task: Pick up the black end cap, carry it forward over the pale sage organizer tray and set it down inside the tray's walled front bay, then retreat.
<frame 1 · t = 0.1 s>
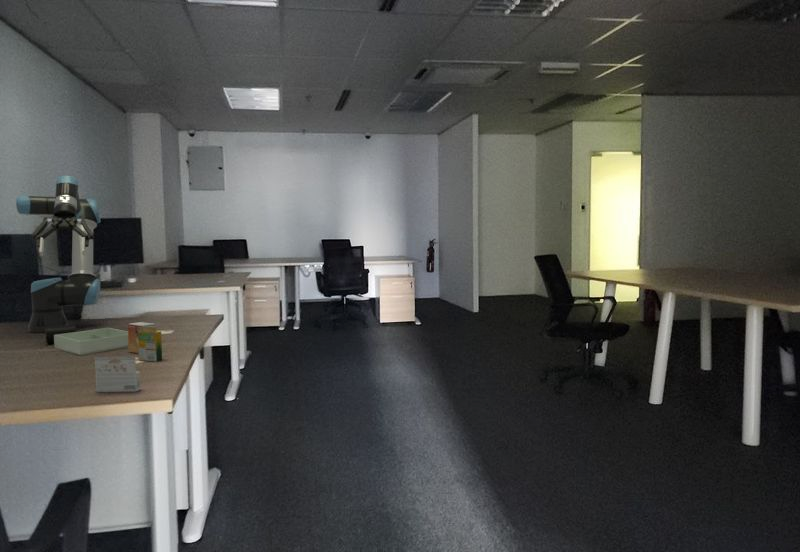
hand: (62, 253, 197), 36 cm above the table, tool tilted 35°, fingers open, 13 cm apart
organizer tray: (95, 347, 199), on the table
crayon box: (150, 360, 177), on the table
ink cartridge box: (118, 391, 141), on the table
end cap: (61, 343, 208), on the table
small box: (142, 352, 190), on the table
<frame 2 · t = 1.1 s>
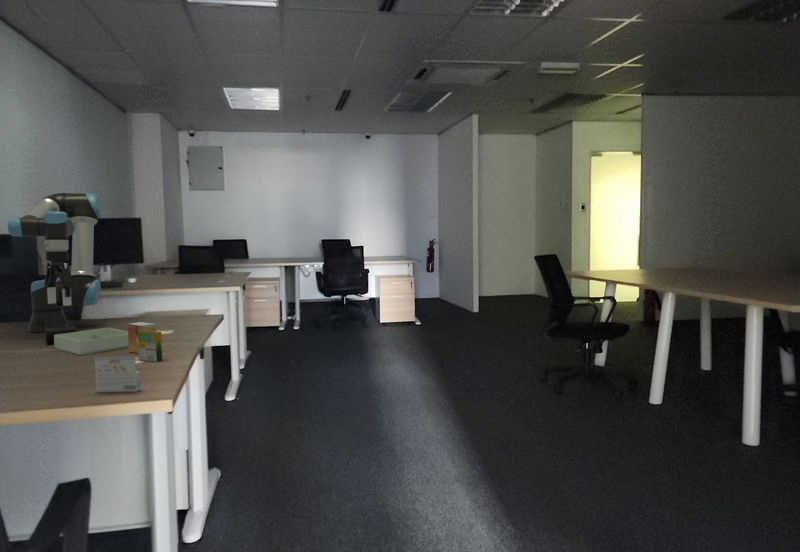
hand: (59, 304, 207), 15 cm above the table, tool pointing down, fingers open, 13 cm apart
nothing on the table moved.
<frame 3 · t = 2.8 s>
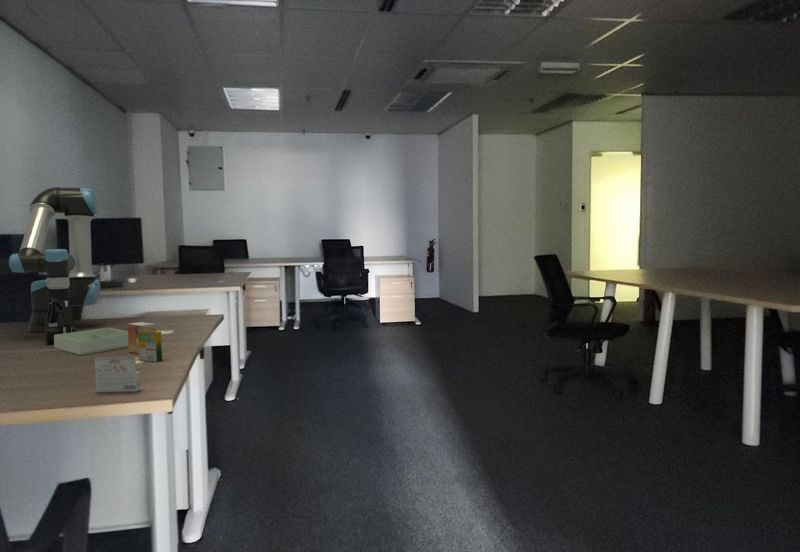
hand: (60, 341, 208), 1 cm above the table, tool pointing down, fingers open, 13 cm apart
nothing on the table moved.
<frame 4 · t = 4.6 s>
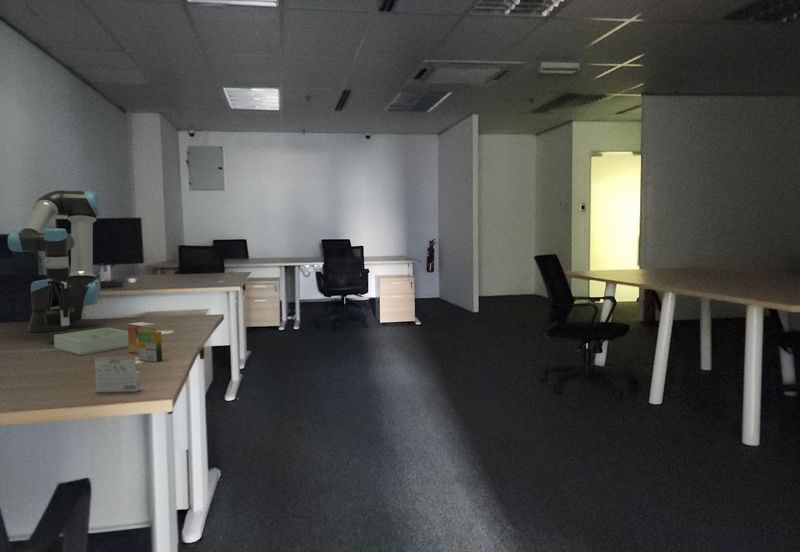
hand: (60, 324, 208), 7 cm above the table, tool pointing down, fingers closed on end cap, 8 cm apart
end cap: (60, 325, 208), point 7 cm above the table, touching gripper
everything else where it was.
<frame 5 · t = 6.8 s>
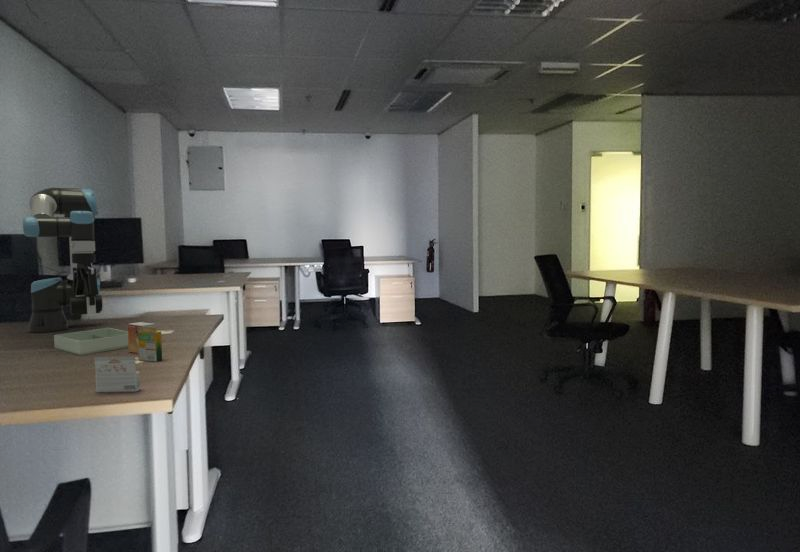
hand: (86, 313, 196), 13 cm above the table, tool pointing down, fingers closed on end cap, 8 cm apart
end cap: (86, 314, 196), point 13 cm above the table, touching gripper
everything else where it was.
when the fingers open (1 cm above the table, at t = 9.3 s): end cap stays where it is, resting on organizer tray.
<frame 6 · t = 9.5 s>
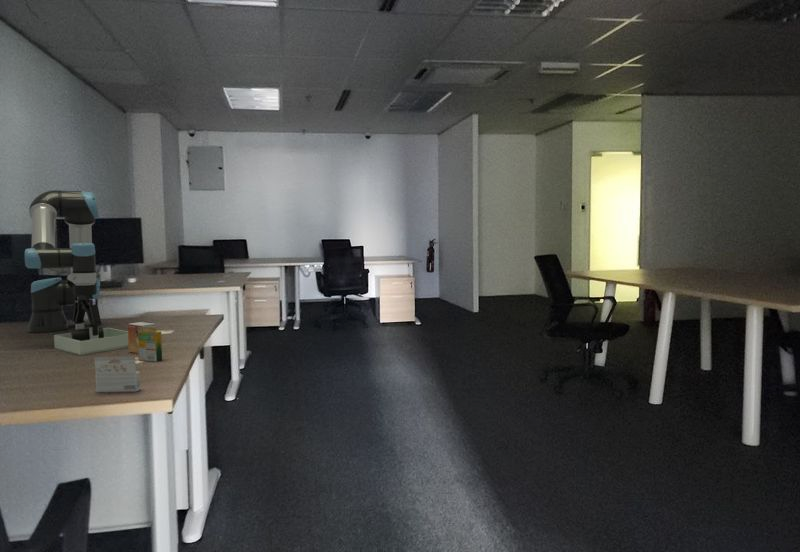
hand: (87, 342, 196), 2 cm above the table, tool pointing down, fingers open, 11 cm apart
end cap: (87, 346, 197), point 1 cm above the table, touching organizer tray
everything else where it was.
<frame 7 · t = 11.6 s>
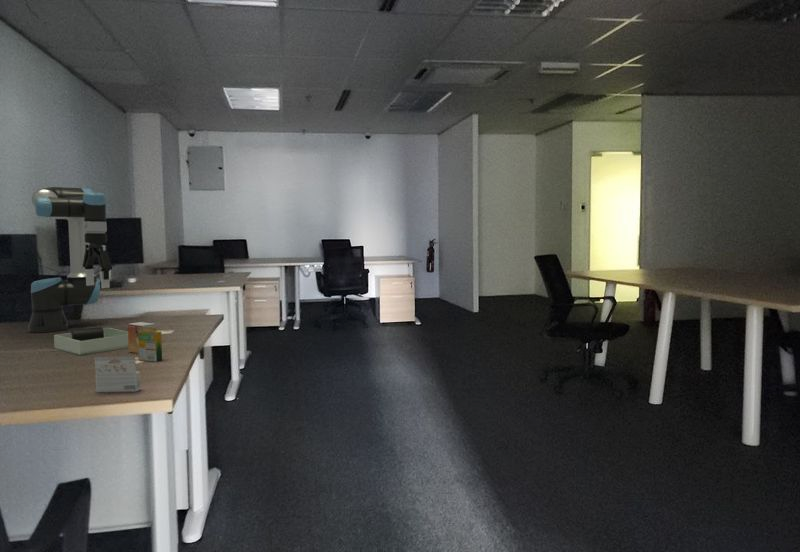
hand: (97, 286, 206), 22 cm above the table, tool pointing down, fingers open, 13 cm apart
nothing on the table moved.
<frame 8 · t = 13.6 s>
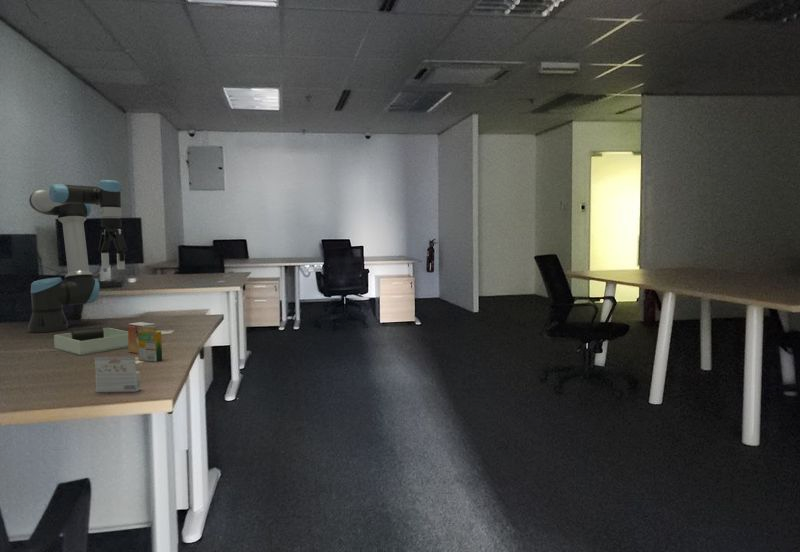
hand: (113, 268, 218), 29 cm above the table, tool pointing down, fingers open, 13 cm apart
nothing on the table moved.
at the end: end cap inside the target area on the organizer tray (0.1 cm from its centre), point 0.6 cm above the organizer tray's base; the gripper is holding nothing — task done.
